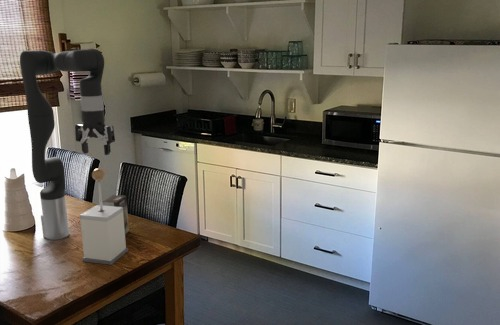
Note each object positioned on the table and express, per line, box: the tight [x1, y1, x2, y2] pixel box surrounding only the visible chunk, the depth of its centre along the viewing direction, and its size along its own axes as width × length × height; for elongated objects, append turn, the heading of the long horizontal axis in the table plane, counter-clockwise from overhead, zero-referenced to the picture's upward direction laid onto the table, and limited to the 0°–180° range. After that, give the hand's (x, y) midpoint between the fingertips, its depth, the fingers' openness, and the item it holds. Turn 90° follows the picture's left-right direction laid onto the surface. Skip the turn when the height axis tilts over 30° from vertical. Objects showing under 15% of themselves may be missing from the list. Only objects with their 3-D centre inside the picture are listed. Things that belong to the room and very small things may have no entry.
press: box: [79, 204, 129, 266], centre depth 177 cm, size 12×15×18 cm
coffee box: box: [102, 194, 130, 235], centre depth 195 cm, size 9×6×16 cm
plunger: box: [91, 167, 106, 212], centre depth 171 cm, size 4×4×20 cm
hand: (96, 153), depth 168 cm, fingers open, 8 cm apart
